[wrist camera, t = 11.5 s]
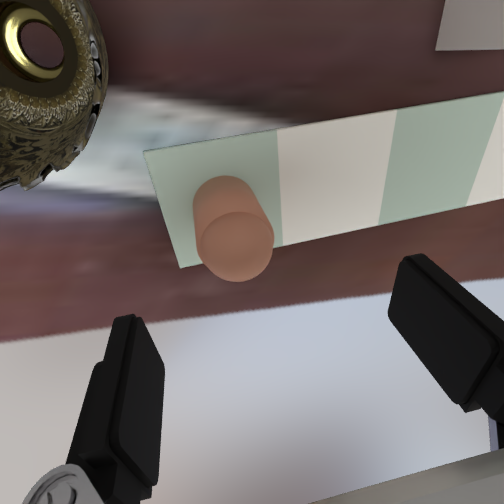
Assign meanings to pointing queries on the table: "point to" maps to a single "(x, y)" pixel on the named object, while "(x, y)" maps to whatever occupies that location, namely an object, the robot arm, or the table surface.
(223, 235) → the pawn
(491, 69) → the table surface
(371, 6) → the table surface
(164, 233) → the table surface
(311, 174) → the board
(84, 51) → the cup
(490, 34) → the die
